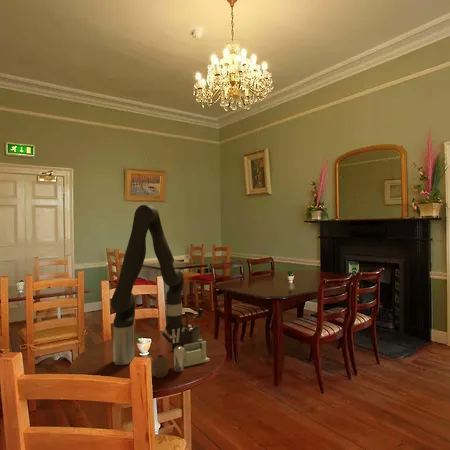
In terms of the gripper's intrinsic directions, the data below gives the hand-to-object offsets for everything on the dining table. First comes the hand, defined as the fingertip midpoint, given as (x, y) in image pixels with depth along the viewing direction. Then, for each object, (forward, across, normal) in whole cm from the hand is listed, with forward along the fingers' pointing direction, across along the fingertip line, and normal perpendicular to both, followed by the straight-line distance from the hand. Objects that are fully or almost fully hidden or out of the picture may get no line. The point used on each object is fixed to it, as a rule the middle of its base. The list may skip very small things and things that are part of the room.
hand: (174, 350), depth 165 cm
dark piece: (+7, +16, +21) cm, 27 cm away
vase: (+7, -10, -9) cm, 15 cm away
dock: (+6, +8, 0) cm, 10 cm away
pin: (+1, +10, 0) cm, 10 cm away
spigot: (+6, -1, -7) cm, 9 cm away
